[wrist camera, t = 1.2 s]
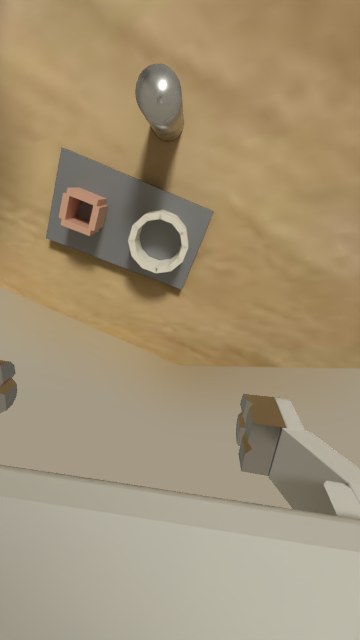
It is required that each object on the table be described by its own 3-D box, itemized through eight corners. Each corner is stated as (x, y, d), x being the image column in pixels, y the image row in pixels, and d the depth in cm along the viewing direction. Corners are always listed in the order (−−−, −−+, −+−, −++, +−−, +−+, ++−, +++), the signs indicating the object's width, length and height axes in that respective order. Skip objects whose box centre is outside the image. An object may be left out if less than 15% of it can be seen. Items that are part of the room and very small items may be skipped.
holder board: (50, 236, 42) (31, 243, 37) (66, 149, 37) (46, 143, 32) (181, 286, 44) (180, 299, 39) (212, 211, 39) (216, 214, 34)
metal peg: (147, 133, 36) (129, 109, 25) (158, 96, 34) (143, 54, 23) (177, 146, 36) (171, 129, 25) (188, 111, 35) (188, 76, 24)
